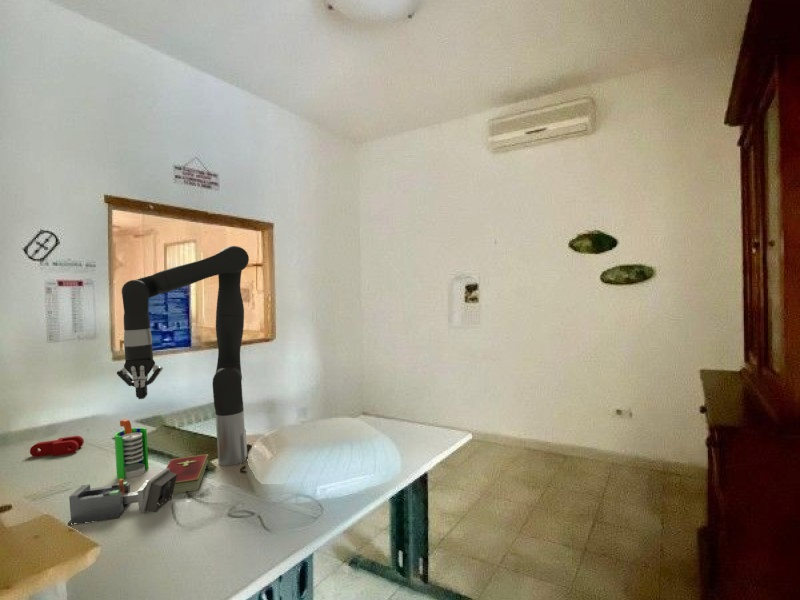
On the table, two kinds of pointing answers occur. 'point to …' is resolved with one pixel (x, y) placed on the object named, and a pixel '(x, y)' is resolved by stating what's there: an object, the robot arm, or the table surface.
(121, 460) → the green-shelled ribbed roller
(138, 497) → the plunger
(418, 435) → the table surface
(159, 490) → the electrical switch
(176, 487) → the hardcover book
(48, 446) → the mechanical linkage
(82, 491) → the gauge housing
